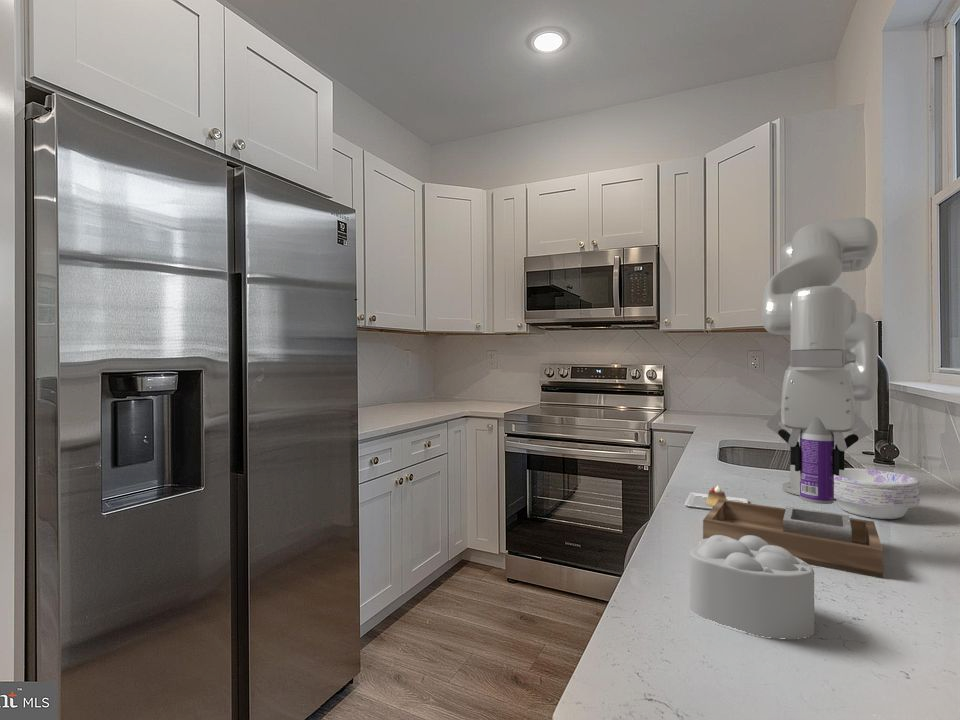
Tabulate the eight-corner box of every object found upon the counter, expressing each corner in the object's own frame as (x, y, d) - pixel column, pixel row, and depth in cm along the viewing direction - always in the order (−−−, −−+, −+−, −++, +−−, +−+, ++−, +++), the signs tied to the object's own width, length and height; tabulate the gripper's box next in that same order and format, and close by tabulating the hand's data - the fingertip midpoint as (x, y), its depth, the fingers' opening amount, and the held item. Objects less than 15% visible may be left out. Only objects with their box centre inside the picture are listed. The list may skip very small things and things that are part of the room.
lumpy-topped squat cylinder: (704, 585, 70) (704, 523, 70) (817, 614, 62) (817, 544, 62) (683, 616, 61) (683, 545, 61) (810, 653, 54) (810, 572, 54)
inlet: (786, 531, 90) (786, 506, 90) (849, 542, 84) (849, 515, 84) (783, 547, 82) (783, 519, 82) (851, 559, 77) (851, 530, 77)
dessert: (690, 496, 118) (690, 476, 118) (748, 503, 112) (748, 482, 112) (684, 509, 107) (684, 487, 107) (748, 518, 101) (748, 494, 101)
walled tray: (719, 519, 99) (719, 499, 99) (873, 545, 85) (873, 521, 85) (703, 543, 86) (703, 520, 86) (882, 578, 72) (882, 550, 72)
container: (839, 505, 80) (839, 411, 80) (807, 503, 81) (807, 410, 81) (825, 497, 85) (825, 408, 85) (795, 495, 86) (795, 407, 86)
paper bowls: (809, 507, 108) (809, 470, 108) (854, 499, 114) (854, 464, 114) (891, 529, 94) (891, 486, 94) (936, 519, 100) (936, 479, 100)
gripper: (880, 362, 82) (879, 474, 81) (760, 361, 91) (760, 462, 91) (884, 361, 75) (884, 483, 75) (756, 361, 85) (756, 469, 85)
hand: (816, 470), depth 83 cm, fingers closed on container, 4 cm apart
